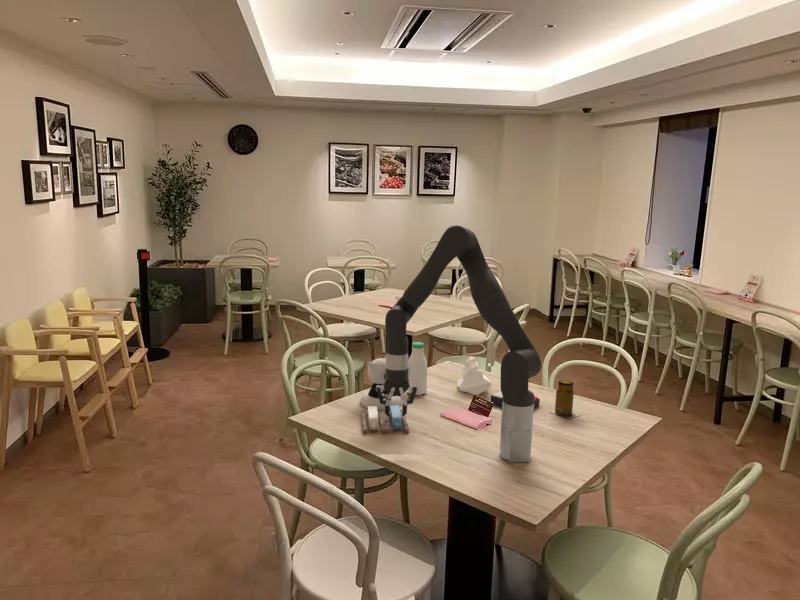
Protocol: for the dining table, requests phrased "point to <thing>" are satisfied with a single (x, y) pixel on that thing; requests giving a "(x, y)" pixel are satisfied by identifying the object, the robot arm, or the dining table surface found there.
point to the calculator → (498, 399)
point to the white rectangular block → (373, 418)
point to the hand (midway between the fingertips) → (395, 415)
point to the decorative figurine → (378, 378)
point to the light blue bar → (395, 417)
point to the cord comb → (383, 424)
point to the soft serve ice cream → (473, 378)
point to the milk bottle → (417, 369)
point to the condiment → (564, 399)
